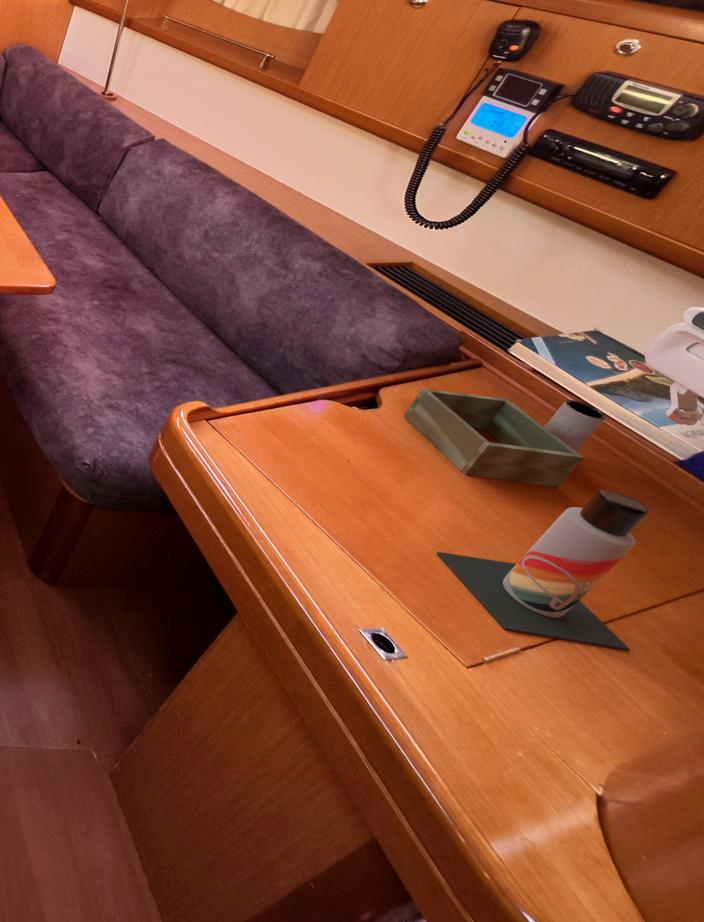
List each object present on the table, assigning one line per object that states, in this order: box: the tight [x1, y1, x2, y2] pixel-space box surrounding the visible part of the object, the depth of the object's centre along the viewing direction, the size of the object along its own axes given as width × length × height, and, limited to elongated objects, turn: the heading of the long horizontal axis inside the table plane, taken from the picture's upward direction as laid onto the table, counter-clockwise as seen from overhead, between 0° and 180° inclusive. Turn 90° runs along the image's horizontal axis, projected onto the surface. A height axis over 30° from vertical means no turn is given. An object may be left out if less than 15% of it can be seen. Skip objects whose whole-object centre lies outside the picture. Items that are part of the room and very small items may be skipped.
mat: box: [436, 551, 631, 652], centre depth 86 cm, size 14×11×1 cm
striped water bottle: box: [503, 489, 649, 618], centre depth 81 cm, size 6×6×20 cm
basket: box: [403, 388, 585, 488], centre depth 109 cm, size 14×14×7 cm
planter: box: [543, 399, 607, 453], centre depth 108 cm, size 4×4×10 cm
